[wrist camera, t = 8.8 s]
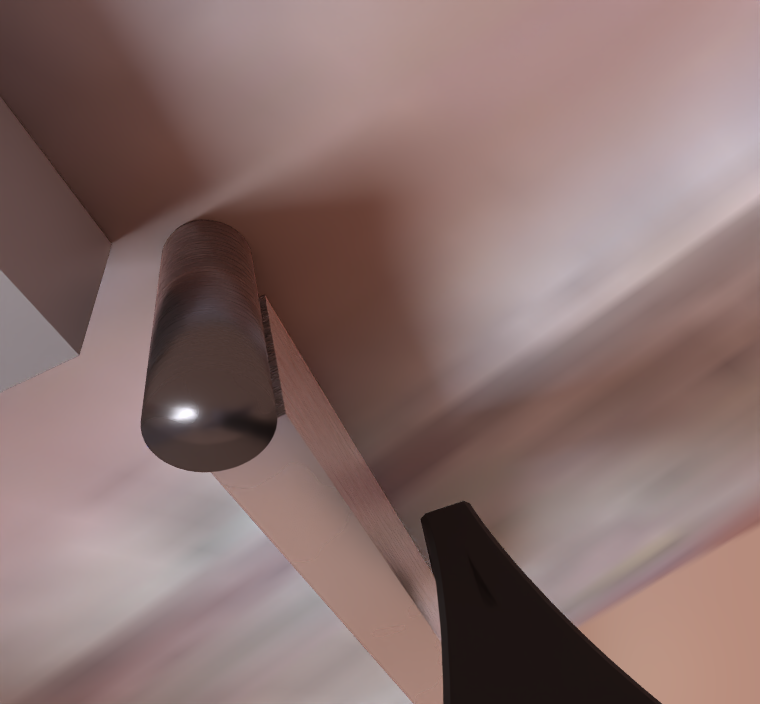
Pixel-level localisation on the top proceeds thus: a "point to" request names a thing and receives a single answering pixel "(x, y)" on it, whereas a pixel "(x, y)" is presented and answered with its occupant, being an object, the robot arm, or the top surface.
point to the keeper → (282, 451)
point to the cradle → (42, 260)
